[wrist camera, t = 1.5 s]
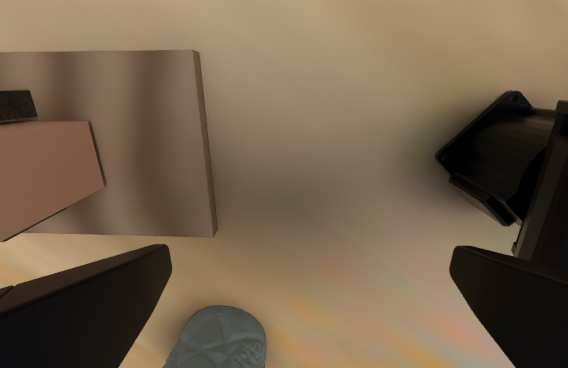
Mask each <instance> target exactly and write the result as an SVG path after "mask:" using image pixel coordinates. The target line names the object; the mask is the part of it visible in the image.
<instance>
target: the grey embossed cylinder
mask: <svg viewBox="0 0 568 368" xmlns="http://www.w3.org/2000/svg"><path fill="white" fill-rule="evenodd" d="M265 360H266V337H265V332H264V330H263V328H262V326H261V325H260V323H259V322H258V321H257V320H256V319H255V318H254V317H253V316H251V315H250V314H248V313H247V312H245V311H243V310H240V309H237V308H234V307H229V306H211V307H208V308H205V309H202V310H201V311H198V312H197V313H196V314H195V315H193V316H192V317H191V319H190V320H189V321H188V322H187V324H186V326H185V328H184V329H183V331H182V333H181V335H180V338H179V341H178V343H177V344H176V345H175V346H174V348H173V350H172V352H171V354H170V355H169V357H168V358H167V360H166V364H165V365H164V366H163V367H162V368H265Z"/></svg>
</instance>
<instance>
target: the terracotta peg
mask: <svg viewBox="0 0 568 368" xmlns="http://www.w3.org/2000/svg"><path fill="white" fill-rule="evenodd" d="M102 188H104V183H103V179H102V175H101V171H100V167H99V163H98V160H97V156H96V152H95V148H94V144H93V140H92V136H91V132H90V128H89V124H88V121H6V122H0V242H1V241H3V240H5V239H7V238H9V237H11V236H13V235H15V234H17V233H18V232H20V231H22V230H24V229H26V228H28V227H30V226H32V225H34V224H35V223H37V222H39V221H41V220H43V219H45V218H47V217H49V216H51V215H53V214H54V213H56V212H58V211H60V210H62V209H64V208H66V207H68V206H70V205H72V204H73V203H75V202H77V201H79V200H81V199H83V198H85V197H87V196H89V195H90V194H92V193H94V192H96V191H98V190H100V189H102Z"/></svg>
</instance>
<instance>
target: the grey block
mask: <svg viewBox="0 0 568 368" xmlns="http://www.w3.org/2000/svg"><path fill="white" fill-rule="evenodd" d="M37 116H38V115H37V112H36V108H35V105H34V102H33V99H32V96H31V93H30V90H2V91H0V121H4V120H12V119H20V118H28V117H37ZM65 209H67V207H66V208H64V209H62V210H60V211H58V212H56V213H54V214H53V215H51V216H49V217H47V218H45V219H43V220H41V221H39V222H37V223H35V224H34V225H32V226H30V227H28V228H26V229H24V230H22V231H20V232H18V233H17V234H15V235H13V236H11V237H9V238H7V239H5V240H3V241H1V242H5V241H7V240H9V239H11V238H13V237H15V236H17V235H18V234H20V233H22V232H24V231H26V230H28V229H30V228H31V227H33V226H35V225H37V224H39V223H41V222H43V221H45V220H46V219H48V218H50V217H52V216H54V215H56V214H58V213H60V212H61V211H63V210H65Z"/></svg>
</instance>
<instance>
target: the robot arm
mask: <svg viewBox="0 0 568 368" xmlns="http://www.w3.org/2000/svg"><path fill="white" fill-rule="evenodd" d="M512 96H514V99H513V101H510V98H511V97H512ZM445 154H446V157H445V159H443V160H442V159H441V158H442V156H443V155H445ZM435 159H436V161H437V162H438V163H439V164H440V165H441V166H442V167H443V168H444V169H445V170H446V171H447V172H448V173H449V174H450V175H451V177H450V178H449V182H450V183H451V184H452V186H453V187H454V188H455V189H456V190H457V191H458V192H459V193H460V194H461V195H462V196H463V197H464V198H465V199H466V200H467V201H468V202H470V203H471V204H472V205H474V206H475V207H477V208H478V209H480V210H481V211H482V212H484V213H485V214H487V215H488V216H490V217H491V218H492V219H494V220H495V221H497V222H498V223H500V224H501V225H503V226H510V225H512V224H513V223H516V224H518V225H520V226H521V228H520V231H519V234H518V237H517V241H516V242H514V243H513V246H512V249H511V251H512V253H513V255H514V256H509V255H505V254H501V253H497V252H493V251H489V250H485V249H481V248H477V247H473V246H456V247H455V248H454V251H453V255H452V259H451V263H450V268H449V272H450V275H451V278H452V279H453V281H454V283H455V284H456V286H457V287H458V289H459V291H460V292H461V294H462V295H463V297H464V298H465V300H466V302H467V303H468V305H469V306H470V308H471V310H472V311H473V313H474V314H475V316H476V317H477V318H478V320H479V321H480V322H481V324H482V325H483V326H484V328H485V329H486V330H487V331H488V333H489V334H490V335H491V337H492V338H493V339H494V340H495V342H496V343H497V344H498V346H499V347H500V348H501V350H502V351H503V352H504V353H505V355H506V356H507V357H508V359H509V360H510V361H511V362H512V364H513V365H514V366H515V368H568V100H559V101H558V103H557V107H556V110H550V109H540V108H533V107H532V106H531V104H530V103H529V102H528V101H527V99H526V98H525V97H524V96H523V95H522V93H521V92H519V91H509V92H507V93H505V94H504V95H503V96H502V97H501V98H500V99H498V100H497V101H496V102H495V103H494V104H493V105H492V106H490V107H489V108H488V109H487V110H486V111H485V112H483V113H482V114H481V115H480V116H479V117H478V118H477V119H475V120H474V121H473V122H472V123H471V124H470V125H469V126H467V127H466V128H465V129H464V130H463V131H462V132H460V133H459V134H458V135H457V136H456V137H455V138H454V139H452V140H451V141H450V142H449V143H448V144H447V145H445V146H444V147H443V148H442V149H441V150H440V151H439V152H438V153H437V154H436V156H435ZM171 273H172V263H171V257H170V252H169V248H168V246H167V245H165V244H154V245H150V246H147V247H143V248H140V249H137V250H133V251H130V252H126V253H123V254H119V255H116V256H113V257H109V258H106V259H102V260H99V261H95V262H92V263H89V264H85V265H82V266H78V267H75V268H72V269H68V270H65V271H61V272H58V273H54V274H51V275H48V276H44V277H41V278H37V279H34V280H30V281H27V282H24V283H20V284H17V285H16V286H8V287H5V288H1V289H0V368H118V367H119V366H120V364H121V363H122V361H123V359H124V358H125V356H126V355H127V353H128V351H129V350H130V348H131V347H132V345H133V343H134V342H135V340H136V339H137V337H138V335H139V334H140V332H141V331H142V329H143V327H144V326H145V324H146V323H147V321H148V319H149V318H150V316H151V314H152V313H153V311H154V309H155V307H156V305H157V303H158V301H159V299H160V297H161V294H162V292H163V290H164V288H165V286H166V284H167V282H168V280H169V278H170V276H171Z"/></svg>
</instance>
